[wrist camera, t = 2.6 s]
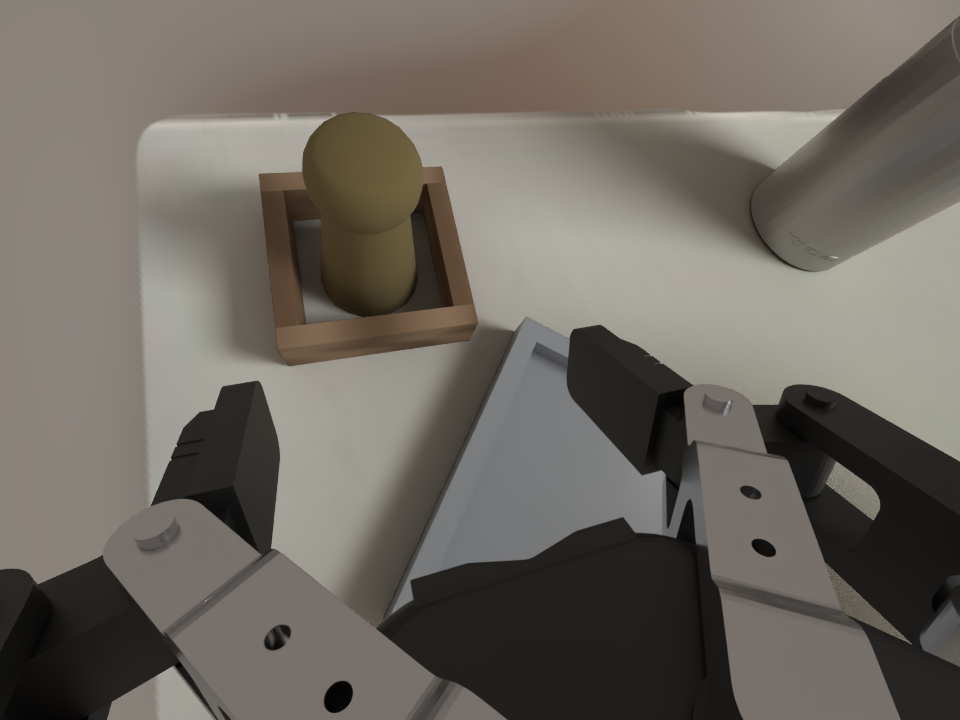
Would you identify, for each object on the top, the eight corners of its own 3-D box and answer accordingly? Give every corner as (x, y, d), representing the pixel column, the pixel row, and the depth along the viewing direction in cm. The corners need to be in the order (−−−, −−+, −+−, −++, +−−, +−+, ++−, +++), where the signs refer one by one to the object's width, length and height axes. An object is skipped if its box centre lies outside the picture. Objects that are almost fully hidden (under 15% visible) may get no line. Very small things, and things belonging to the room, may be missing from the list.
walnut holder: (436, 196, 31) (442, 166, 29) (468, 340, 29) (478, 322, 26) (271, 206, 29) (258, 173, 26) (289, 366, 26) (277, 349, 23)
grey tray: (514, 331, 30) (526, 316, 27) (724, 437, 30) (753, 432, 28) (383, 617, 23) (384, 630, 21) (653, 742, 24) (683, 768, 22)
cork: (367, 215, 30) (360, 65, 20) (436, 273, 30) (465, 152, 19) (298, 272, 28) (249, 138, 17) (372, 336, 27) (366, 237, 17)
